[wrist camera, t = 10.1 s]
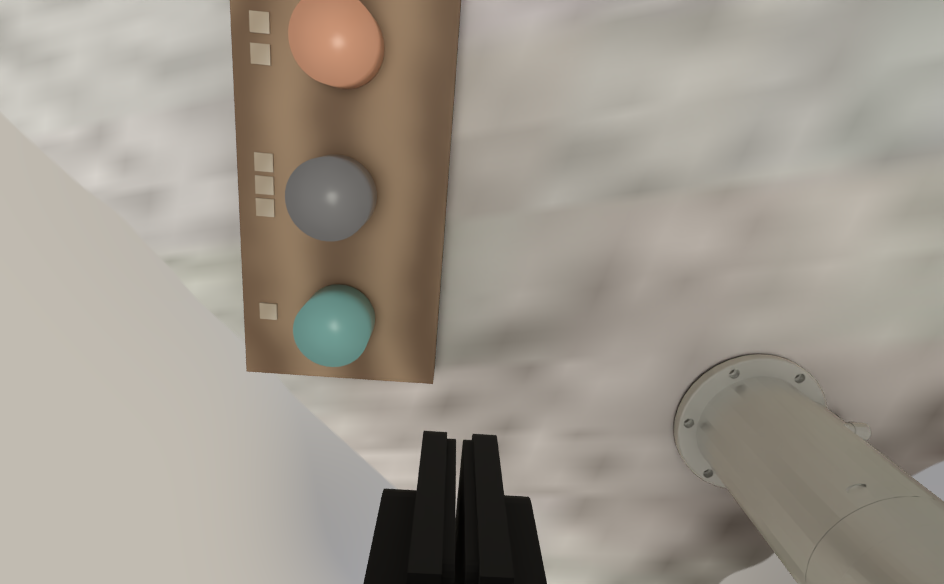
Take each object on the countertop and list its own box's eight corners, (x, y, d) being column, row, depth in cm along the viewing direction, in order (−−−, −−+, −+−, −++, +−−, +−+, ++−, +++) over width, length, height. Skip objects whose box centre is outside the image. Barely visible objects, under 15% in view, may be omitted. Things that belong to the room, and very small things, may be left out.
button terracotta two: (385, 5, 32) (378, -7, 29) (382, 92, 33) (375, 89, 30) (302, -4, 32) (287, -16, 29) (303, 85, 33) (288, 81, 30)
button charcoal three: (378, 158, 33) (370, 160, 31) (375, 235, 35) (368, 244, 32) (299, 151, 33) (284, 153, 30) (299, 228, 35) (285, 238, 32)
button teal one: (376, 287, 37) (369, 300, 34) (374, 351, 39) (367, 369, 36) (305, 281, 37) (292, 294, 34) (305, 346, 38) (293, 364, 36)
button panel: (462, -19, 35) (462, -33, 31) (434, 366, 43) (432, 385, 40) (246, -42, 34) (225, -58, 31) (261, 354, 42) (245, 372, 39)
